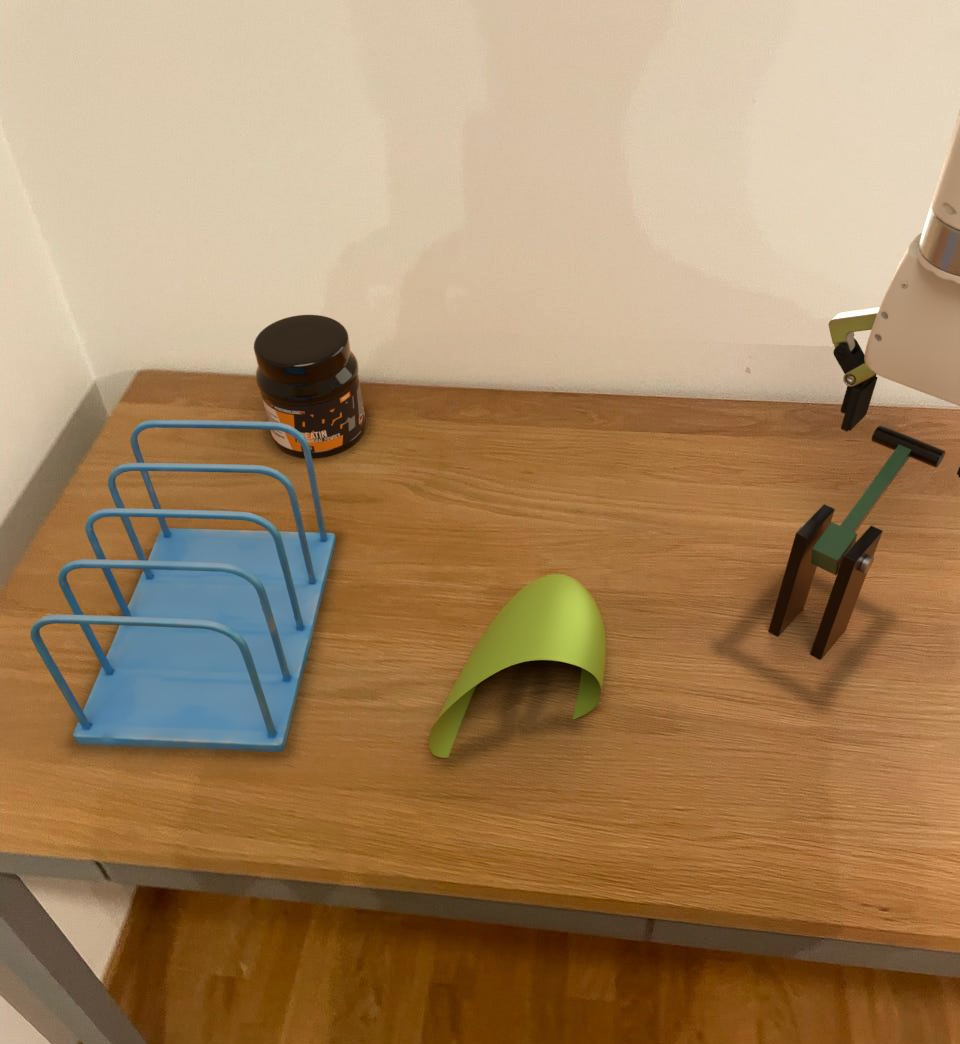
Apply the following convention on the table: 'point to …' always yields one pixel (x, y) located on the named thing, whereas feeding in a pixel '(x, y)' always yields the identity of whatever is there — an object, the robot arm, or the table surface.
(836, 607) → the bracket
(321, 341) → the supplement container
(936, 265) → the robot arm
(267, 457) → the table surface
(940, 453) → the lever
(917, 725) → the table surface
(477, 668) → the curved green shell
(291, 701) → the file sorter
